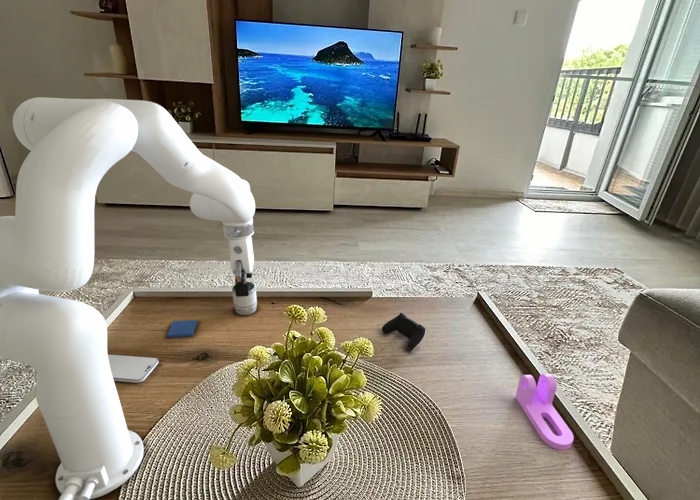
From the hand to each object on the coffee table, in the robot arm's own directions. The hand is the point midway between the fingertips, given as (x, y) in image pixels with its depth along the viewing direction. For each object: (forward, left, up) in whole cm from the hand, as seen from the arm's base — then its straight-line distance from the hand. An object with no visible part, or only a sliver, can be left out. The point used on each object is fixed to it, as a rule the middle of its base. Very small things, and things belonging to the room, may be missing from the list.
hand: (244, 286), depth 108 cm
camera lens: (0, 0, -7) cm, 7 cm away
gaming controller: (-17, -41, -7) cm, 45 cm away
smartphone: (-22, +25, -7) cm, 34 cm away
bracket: (-46, -61, -7) cm, 77 cm away
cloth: (-8, +15, -7) cm, 19 cm away
